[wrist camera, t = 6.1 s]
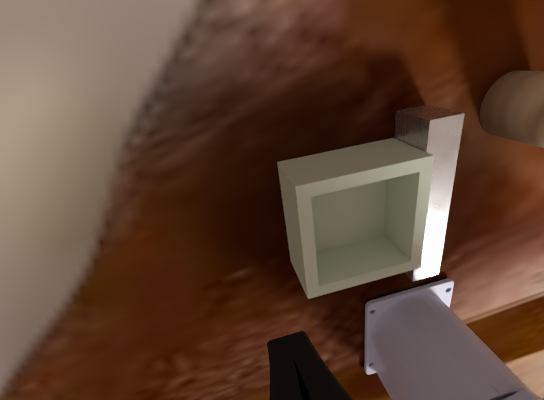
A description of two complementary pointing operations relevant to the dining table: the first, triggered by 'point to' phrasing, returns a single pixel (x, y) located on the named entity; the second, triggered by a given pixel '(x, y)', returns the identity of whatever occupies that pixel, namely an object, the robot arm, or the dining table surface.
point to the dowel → (516, 107)
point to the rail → (433, 172)
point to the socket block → (355, 213)
